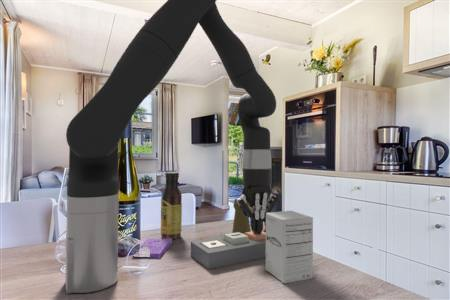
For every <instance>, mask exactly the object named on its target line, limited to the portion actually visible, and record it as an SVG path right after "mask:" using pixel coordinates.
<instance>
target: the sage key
mask: <svg viewBox="0 0 450 300" xmlns="http://www.w3.org/2000/svg"><path fill="white" fill-rule="evenodd" d="M223 236H224V241H226V242H227V243H229V244H231V245H236V244H242V243H248V236H247V235H244V234H242V233H240V232H236V233H232V232H231V233H225V234H224V235H223Z"/></svg>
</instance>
